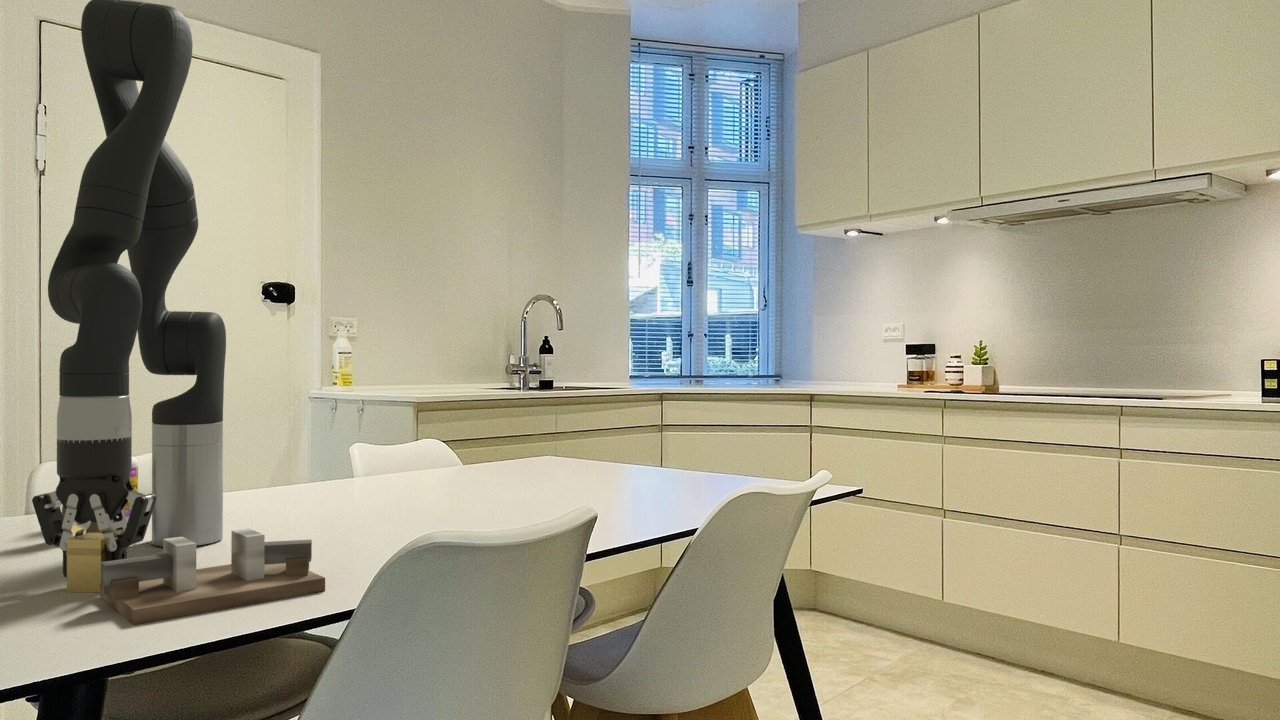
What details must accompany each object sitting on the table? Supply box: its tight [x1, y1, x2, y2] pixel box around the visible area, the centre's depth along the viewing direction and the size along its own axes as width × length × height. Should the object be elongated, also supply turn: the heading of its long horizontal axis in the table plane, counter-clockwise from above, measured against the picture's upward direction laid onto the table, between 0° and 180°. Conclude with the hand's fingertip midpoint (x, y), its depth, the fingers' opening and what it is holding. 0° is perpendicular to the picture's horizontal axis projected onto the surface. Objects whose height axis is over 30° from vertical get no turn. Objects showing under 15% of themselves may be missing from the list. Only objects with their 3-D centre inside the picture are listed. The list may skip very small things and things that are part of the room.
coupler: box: [66, 533, 109, 593], centre depth 107 cm, size 4×4×6 cm
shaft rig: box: [99, 528, 326, 626], centre depth 104 cm, size 14×22×6 cm, turn 133°
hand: (94, 580), depth 107 cm, fingers closed on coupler, 4 cm apart
